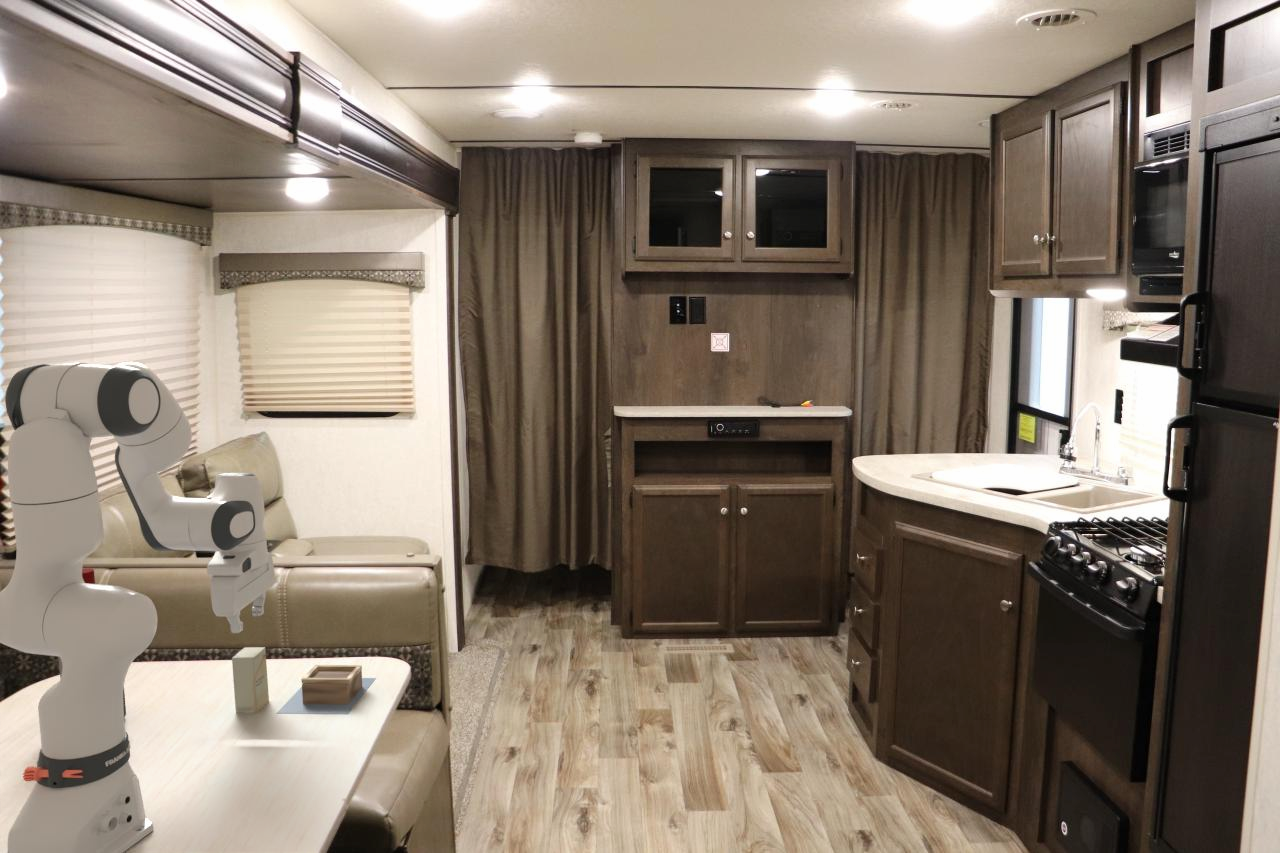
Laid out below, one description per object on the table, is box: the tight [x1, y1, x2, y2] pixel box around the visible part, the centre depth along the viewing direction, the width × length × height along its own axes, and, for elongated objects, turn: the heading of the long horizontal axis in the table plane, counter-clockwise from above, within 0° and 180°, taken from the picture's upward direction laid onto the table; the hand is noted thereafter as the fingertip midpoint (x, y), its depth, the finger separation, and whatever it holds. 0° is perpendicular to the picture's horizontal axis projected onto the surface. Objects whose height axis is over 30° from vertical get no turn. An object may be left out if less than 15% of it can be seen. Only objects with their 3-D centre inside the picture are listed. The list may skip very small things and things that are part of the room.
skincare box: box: [231, 646, 270, 714], centre depth 196 cm, size 6×4×12 cm
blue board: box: [276, 677, 377, 715], centre depth 202 cm, size 18×14×1 cm
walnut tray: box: [301, 664, 363, 704], centre depth 201 cm, size 9×10×5 cm
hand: (247, 623), depth 194 cm, fingers open, 8 cm apart
